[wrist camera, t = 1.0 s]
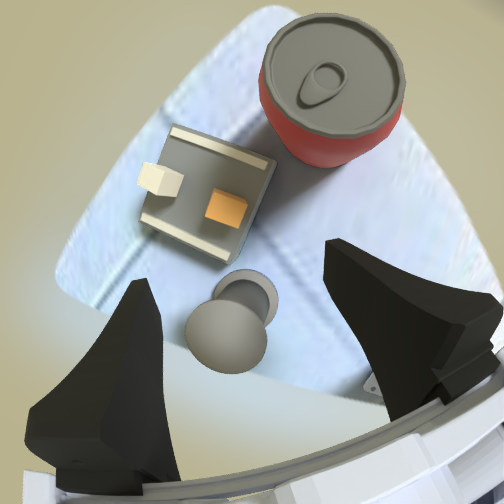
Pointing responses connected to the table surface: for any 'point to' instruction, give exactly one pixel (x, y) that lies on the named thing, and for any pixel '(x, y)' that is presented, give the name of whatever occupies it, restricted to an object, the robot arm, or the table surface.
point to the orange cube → (226, 208)
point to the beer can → (331, 88)
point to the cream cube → (160, 180)
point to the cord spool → (233, 323)
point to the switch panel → (207, 191)
